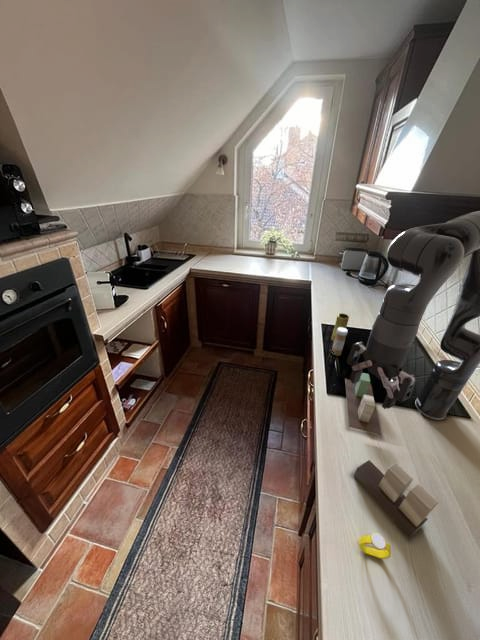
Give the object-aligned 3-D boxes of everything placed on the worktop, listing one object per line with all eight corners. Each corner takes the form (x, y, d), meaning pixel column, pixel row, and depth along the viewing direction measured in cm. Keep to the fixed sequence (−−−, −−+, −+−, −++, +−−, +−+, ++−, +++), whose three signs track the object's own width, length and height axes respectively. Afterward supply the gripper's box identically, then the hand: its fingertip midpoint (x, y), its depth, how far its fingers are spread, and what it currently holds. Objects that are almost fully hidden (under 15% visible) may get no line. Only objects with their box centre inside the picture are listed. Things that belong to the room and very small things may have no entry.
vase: (331, 335, 134) (337, 312, 127) (343, 338, 132) (349, 314, 125) (330, 341, 129) (336, 317, 122) (343, 344, 127) (350, 319, 120)
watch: (384, 550, 57) (393, 538, 54) (387, 565, 55) (396, 554, 52) (356, 539, 59) (363, 527, 56) (357, 554, 56) (364, 542, 53)
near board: (344, 380, 105) (349, 363, 100) (370, 386, 102) (377, 368, 98) (348, 428, 85) (355, 410, 80) (380, 436, 82) (389, 418, 78)
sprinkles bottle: (333, 349, 123) (339, 325, 117) (342, 353, 121) (349, 329, 114) (329, 353, 120) (335, 329, 114) (338, 357, 118) (345, 333, 111)
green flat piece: (355, 395, 96) (361, 380, 92) (354, 387, 100) (360, 372, 96) (364, 397, 95) (370, 381, 91) (363, 389, 99) (368, 373, 95)
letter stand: (365, 467, 73) (377, 441, 67) (421, 526, 61) (442, 501, 55) (353, 475, 71) (365, 450, 65) (408, 538, 59) (429, 514, 53)
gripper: (439, 350, 47) (408, 410, 55) (373, 316, 58) (355, 370, 66) (415, 361, 44) (386, 423, 52) (350, 323, 55) (334, 379, 63)
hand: (369, 393), depth 59 cm, fingers open, 8 cm apart
